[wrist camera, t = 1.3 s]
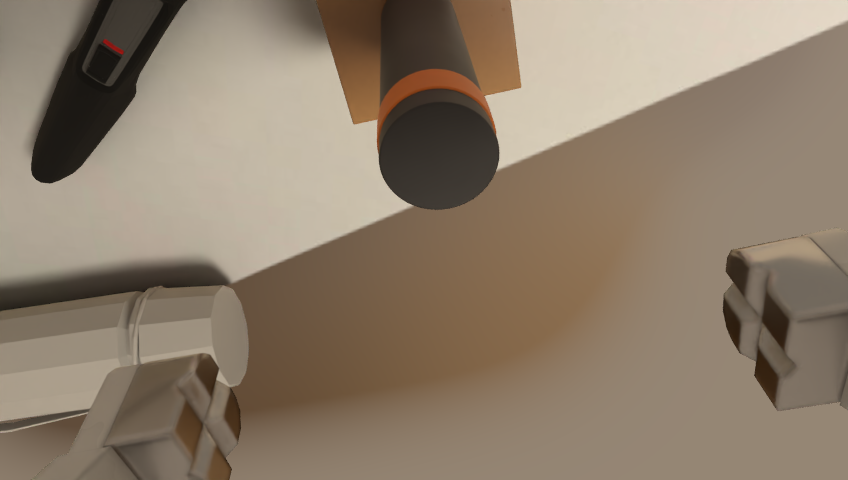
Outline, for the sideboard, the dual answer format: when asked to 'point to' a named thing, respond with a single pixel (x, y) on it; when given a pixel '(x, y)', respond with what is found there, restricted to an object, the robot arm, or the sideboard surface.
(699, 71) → the sideboard surface
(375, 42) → the brown block
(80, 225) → the sideboard surface
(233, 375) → the water bottle
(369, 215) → the sideboard surface
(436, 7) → the marker
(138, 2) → the electric trimmer
